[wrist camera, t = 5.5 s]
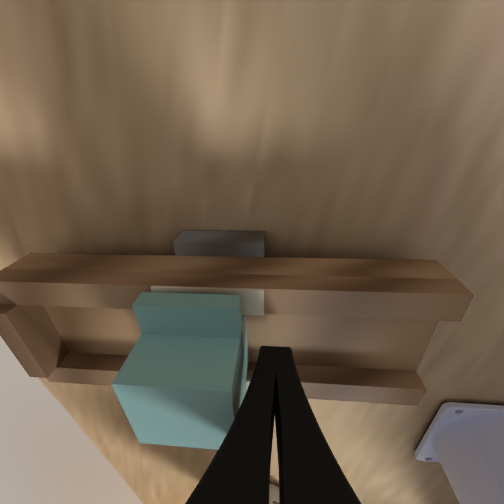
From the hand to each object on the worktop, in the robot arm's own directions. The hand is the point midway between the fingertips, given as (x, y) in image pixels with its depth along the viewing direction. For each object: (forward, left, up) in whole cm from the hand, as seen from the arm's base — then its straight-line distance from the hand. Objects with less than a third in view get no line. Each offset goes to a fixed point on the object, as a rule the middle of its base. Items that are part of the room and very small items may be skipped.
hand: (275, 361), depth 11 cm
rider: (+3, 0, -2) cm, 4 cm away
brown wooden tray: (+3, 0, -5) cm, 5 cm away
